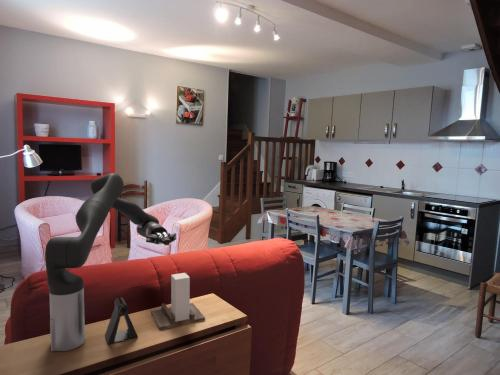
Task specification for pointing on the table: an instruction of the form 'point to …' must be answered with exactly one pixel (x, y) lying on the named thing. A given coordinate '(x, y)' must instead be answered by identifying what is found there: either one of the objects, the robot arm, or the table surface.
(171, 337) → the table surface
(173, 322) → the ridged brown base plate
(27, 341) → the table surface
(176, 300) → the cream block
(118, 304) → the phone stand
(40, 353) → the table surface
